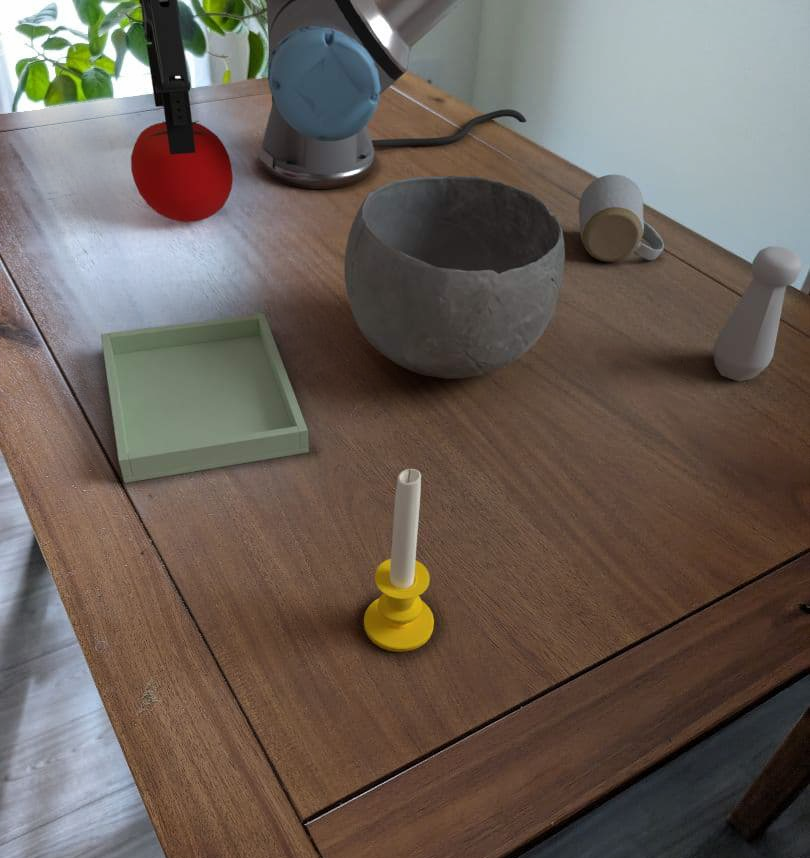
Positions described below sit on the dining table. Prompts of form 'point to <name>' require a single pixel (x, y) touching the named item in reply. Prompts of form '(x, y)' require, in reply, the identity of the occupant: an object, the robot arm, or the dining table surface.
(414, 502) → the candle
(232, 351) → the tray
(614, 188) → the ceramic mug
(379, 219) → the bowl
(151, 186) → the tomato
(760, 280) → the salt shaker
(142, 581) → the dining table surface
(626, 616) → the dining table surface
